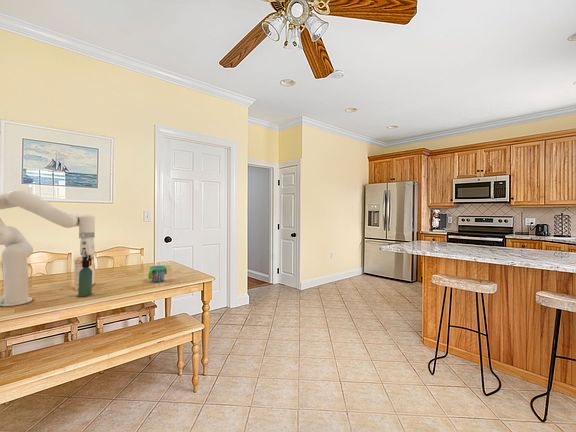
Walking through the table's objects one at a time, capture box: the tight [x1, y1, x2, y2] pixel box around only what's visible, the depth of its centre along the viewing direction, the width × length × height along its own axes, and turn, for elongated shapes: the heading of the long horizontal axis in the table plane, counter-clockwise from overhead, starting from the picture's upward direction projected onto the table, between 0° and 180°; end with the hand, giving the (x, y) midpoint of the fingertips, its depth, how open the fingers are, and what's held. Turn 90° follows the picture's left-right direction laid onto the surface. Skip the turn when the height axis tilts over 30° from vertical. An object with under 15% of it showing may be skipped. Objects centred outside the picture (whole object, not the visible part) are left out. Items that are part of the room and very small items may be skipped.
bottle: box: [77, 267, 93, 298], centre depth 165 cm, size 6×6×19 cm
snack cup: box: [147, 265, 168, 283], centre depth 198 cm, size 16×10×10 cm
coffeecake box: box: [74, 254, 95, 291], centre depth 182 cm, size 15×7×20 cm, turn 21°
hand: (86, 266), depth 165 cm, fingers closed on cap, 3 cm apart
